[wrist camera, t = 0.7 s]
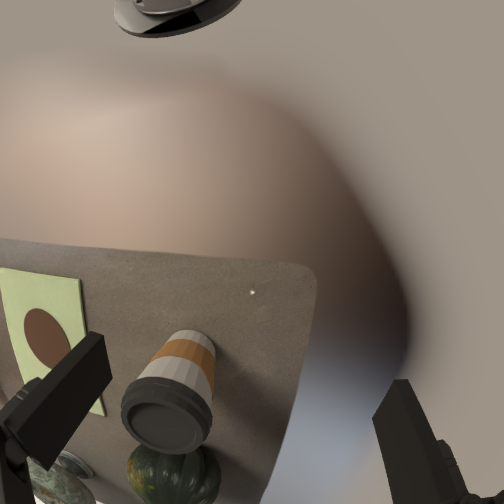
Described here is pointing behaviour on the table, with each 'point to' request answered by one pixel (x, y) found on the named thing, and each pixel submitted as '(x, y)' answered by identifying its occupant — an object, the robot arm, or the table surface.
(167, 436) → the coffee cup
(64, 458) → the bowl
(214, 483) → the squash
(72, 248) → the table surface
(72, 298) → the place mat
